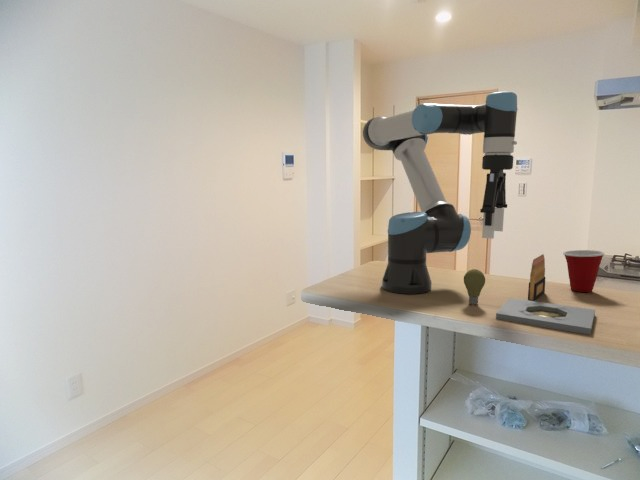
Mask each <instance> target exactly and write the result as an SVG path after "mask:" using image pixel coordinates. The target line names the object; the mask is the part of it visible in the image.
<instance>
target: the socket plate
mask: <svg viewBox="0 0 640 480" xmlns="http://www.w3.org/2000/svg"><path fill="white" fill-rule="evenodd" d="M595 317H596V309H592V308H586V307H578V306H572V305H571V306H570V305H564V304H555V303H551V302H541V301H537V300H536V301H531V300H528V299H521V298H513V297H510V298H508V300H507V301H506V302H505V303H504V304H503V305H502V306H501V308H499V310H498V311H497V312H496V313H495V319H498V320H503V321H508V322H515V323H519V324H526V325H530V326H536V327H541V328H548V329H553V330H559V331H565V332H571V333H577V334H583V335H589V336H591V334H592V330H593V329H592V328H593V325H594V320H595Z"/></svg>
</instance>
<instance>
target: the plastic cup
mask: <svg viewBox="0 0 640 480" xmlns="http://www.w3.org/2000/svg"><path fill="white" fill-rule="evenodd" d="M562 254H563V255H564V257H565V260H566V266H567V271H568V272H567V273H568V279H569V286H570V290H572V291H575V292H579V293H580V292H581V293H591V292H593V290H594V287H595V283H596V281H597V278H598V277H597V276H598V273H599V269H600V266H601V262H602V260H603V257H604V255H605V252H604V251H599V250H590V249H589V250H588V249H585V250H581V249H580V250H567V251H563V252H562Z"/></svg>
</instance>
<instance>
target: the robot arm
mask: <svg viewBox="0 0 640 480" xmlns="http://www.w3.org/2000/svg"><path fill="white" fill-rule="evenodd" d="M518 110H519V109H518V95H517V94H516V93H515V92H511V91H497V92H492V93H489V94H487V95H486V99H485V102H484V104H477V105H467V104H444V103H442V104H441V103H434V102H429V103H420V104H418V105H417V106H416V107H415V108H414V109H413V110H409V111H405V112H403V113H402V112H401V113H399V114H395V115H391V116H382V115H381V116H377V117H373V118H371V119H369V120H368V121H367V122H365V124H364V125H363V129H362V137H363V140H364V142H365V143H366V145H368V147H370V148H372V149H374V150H376V151H377V150H378V151H392V153H393V156H394V158H395V159H396V160H397V161H400V162H401V164H402V166H403V169H404V172H405V174H406V176H407V180H408V181H409V184H410V187H411V189H412V192H413V194H414V197H415V199H416V202H417V204H418V207H419V209H420V211H412V212H402V213H399V214H394V215H393V216H391V217H390V218H389V220H388V225H387V227H388V228H387V264H386V268H385V270H384V273H383V274H384V275H383V276H382V282H381V284H382V285H381V287H382V289H383V290H385V291H387V292H390V293H394V294H395V293H396V294H403V295H405V294H406V295H410V294H411V295H412V294H424V293H427V292H429V291H431V290H432V279H431V275H430V273H429V270H428V266H427V254H432V253H433V254H435V253H436V254H437V253H447V252H449V253H452V252H455V251H460V250H463V249H464V248H465V247H466V246H467V245H468V244H469V241H470V238H471V234H472V227H471V226H472V225H471V222H470V220H469V218H468V216H467V215H464V214H462V213H458V212H457V210H456V208H455V206H454V204H452V203H448V202H447V200H446V197H445V195H444V193H443V190H442V188H441V186H440V184H439V182H438V179H437V178H436V175H435V173H434V170H433V168H432V166H431V163H430V161H429V159H428V157H427V154H426V152H425V149H426V147H427V143H428V140H429V136H428V135H432V134H460V135H465V136H466V135H468V136H469V135H474V134H482V133H484V134H483V143H482V154H484V155H483V156H482V159H481V160H482V163H481V169H482V170H485V171H486V170H487V171H488V170H489V171H490V172H489V173H486V180H485V181H486V182H485V186H484V187H485V188H484V195H483V200H482V202H483V203H482V206H481V208H480V213H483V215H482V216H483V217H482V231H481V232H482V235H481V238H482V239H492V240H493V239H494V238H495V232H503V230H504V215H505V208H506V209H507V208H508V204H507V202H506V201H507V200H506V198H507V197H506V177H507V173H506V172H504V170H505V171H506V170H507V171H508V170H512V169H513V167H514V156H513V154H512V153H514V151H515V150H514V149H515V146H514V145H518V142H517V140H515V137H516V127H517V115H518Z"/></svg>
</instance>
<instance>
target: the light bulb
mask: <svg viewBox="0 0 640 480" xmlns="http://www.w3.org/2000/svg"><path fill="white" fill-rule="evenodd" d="M485 283H486V276H485V274H484V273H483V272H482V271H481V270H479V269H469V270H467V272H466V273H465V274H464V276H463V284H464V285H465V288H466V291H467V295H468V303H469V304H470V305H474V306H475V305H477V304H479V297H480V295H481V292H482V290H483V288H484V286H485Z"/></svg>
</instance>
